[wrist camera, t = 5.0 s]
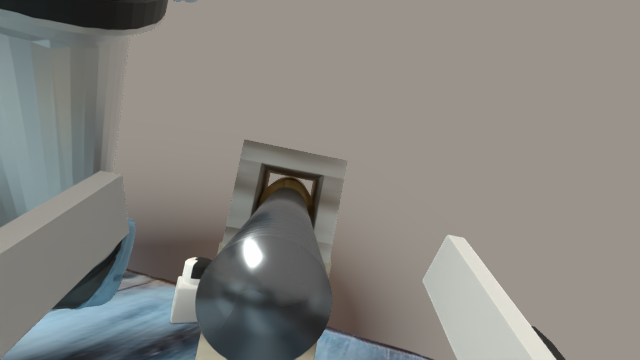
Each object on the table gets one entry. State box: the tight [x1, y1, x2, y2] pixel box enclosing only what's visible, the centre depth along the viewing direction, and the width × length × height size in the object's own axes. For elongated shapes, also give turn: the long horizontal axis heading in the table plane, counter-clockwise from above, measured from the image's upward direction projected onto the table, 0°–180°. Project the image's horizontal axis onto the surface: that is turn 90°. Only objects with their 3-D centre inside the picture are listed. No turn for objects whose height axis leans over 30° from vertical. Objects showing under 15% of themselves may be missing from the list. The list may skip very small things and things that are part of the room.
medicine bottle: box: [170, 257, 212, 324], centre depth 58 cm, size 7×7×12 cm
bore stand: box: [195, 140, 347, 360], centre depth 25 cm, size 12×12×33 cm
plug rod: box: [195, 176, 332, 360], centre depth 19 cm, size 26×4×4 cm, turn 6°
